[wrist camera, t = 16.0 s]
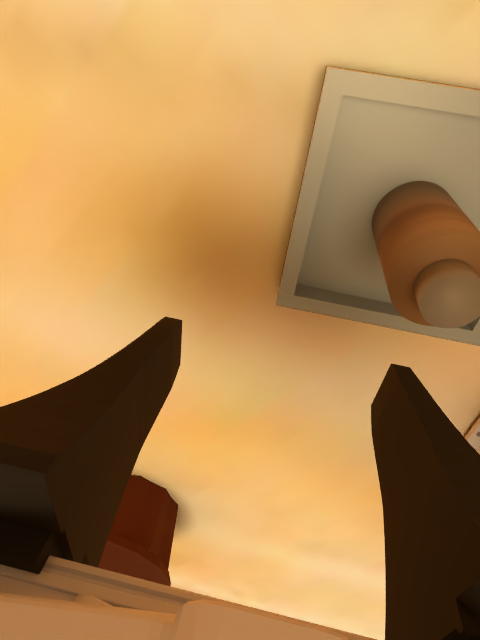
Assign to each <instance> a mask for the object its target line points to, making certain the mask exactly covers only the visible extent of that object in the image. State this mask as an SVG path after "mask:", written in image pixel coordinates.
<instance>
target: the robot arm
mask: <svg viewBox="0 0 480 640" xmlns="http://www.w3.org/2000/svg"><path fill="white" fill-rule="evenodd" d="M181 336H182V320H178V319H174V318H169V317H164V318H163V319H161V320H160V321H159V322H157V323H156V324H155V325H154V326H152V327H151V328H150V329H149V330H147V331H146V332H145V333H143V334H142V335H141V336H140V337H138V338H137V339H136V340H134V341H133V342H131V343H130V344H129V345H127V346H126V347H125V348H123V349H122V350H120V351H119V352H117V353H116V354H114V355H113V356H111V357H110V358H108V359H107V360H105V361H104V362H102V363H100V364H99V365H97V366H95V367H94V368H92V369H90V370H88V371H87V372H85V373H83V374H81V375H79V376H77V377H75V378H73V379H71V380H69V381H67V382H64V383H62V384H60V385H58V386H55V387H53V388H51V389H49V390H47V391H44V392H42V393H39V394H36V395H34V396H31V397H29V398H26V399H23V400H20V401H17V402H14V403H11V404H8V405H5V406H2V407H0V640H376V639H372V638H368V637H364V636H361V635H357V634H353V633H349V632H345V631H341V630H337V629H333V628H330V627H326V626H322V625H318V624H314V623H310V622H306V621H302V620H298V619H295V618H291V617H287V616H283V615H279V614H275V613H271V612H267V611H264V610H260V609H256V608H252V607H248V606H244V605H240V604H236V603H232V602H229V601H225V600H221V599H217V598H213V597H209V596H205V595H201V594H197V593H194V592H190V591H186V590H182V589H178V588H174V587H170V586H166V585H163V584H159V583H155V582H151V581H147V580H143V579H139V578H135V577H131V576H128V575H124V574H120V573H116V572H112V571H108V570H104V569H100V568H98V566H99V563H100V560H101V557H102V554H103V551H104V548H105V545H106V542H107V539H108V536H109V533H110V530H111V528H112V525H113V522H114V519H115V516H116V513H117V511H118V508H119V505H120V502H121V500H122V497H123V494H124V491H125V489H126V486H127V483H128V481H129V478H130V475H131V473H132V470H133V468H134V465H135V463H136V460H137V458H138V455H139V452H140V450H141V448H142V446H143V444H144V441H145V439H146V437H147V435H148V434H149V432H150V430H151V428H152V426H153V424H154V422H155V420H156V418H157V416H158V414H159V412H160V410H161V408H162V406H163V404H164V402H165V400H166V398H167V396H168V394H169V392H170V390H171V388H172V386H173V383H174V380H175V378H176V375H177V372H178V369H179V366H180V359H181ZM371 425H372V438H373V445H374V451H375V458H376V464H377V470H378V476H379V482H380V489H381V495H382V503H383V515H384V535H385V565H386V622H385V640H480V455H479V453H478V452H477V451H476V450H475V449H479V451H480V417H479V419H478V420H477V421H476V423H475V424H474V426H473V427H472V428H471V430H470V431H469V432H468V434H467V435H466V436H465V438H464V437H463V436H462V434H461V433H460V432H459V431H458V430H457V429H456V427H455V426H454V425H453V424H452V422H451V421H450V420H449V419H448V418H447V416H446V415H445V414H444V412H443V411H442V410H441V409H440V407H439V406H438V405H437V403H436V402H435V401H434V399H433V398H432V397H431V395H430V394H429V393H428V391H427V390H426V389H425V387H424V386H423V384H422V383H421V382H420V380H419V379H418V378H417V376H416V375H415V374H414V372H413V371H412V370H411V368H410V367H405V366H400V365H395V364H391V365H390V367H389V369H388V371H387V374H386V376H385V378H384V380H383V382H382V384H381V386H380V388H379V390H378V392H377V394H376V396H375V399H374V401H373V403H372V405H371Z"/></svg>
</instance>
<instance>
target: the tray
mask: <svg viewBox="0 0 480 640" xmlns="http://www.w3.org/2000/svg"><path fill="white" fill-rule="evenodd" d="M414 181H426V182H431V183H435V184H437V185H439V186H441V187H442V188H443V189H445V190H446V191H447V192H448V194H449V195H450V196H451V197H452V199H453V200H454V201H455V202H456V203H457V205H458V206H459V207H460V208H461V209H462V211H463V212H464V213H465V214H466V216H467V217H468V218H469V219H470V220H471V222H472V223H473V224H474V225H475V226H476V228H477V229H478V230H479V231H480V89H473V88H467V87H461V86H454V85H448V84H441V83H435V82H429V81H422V80H416V79H409V78H403V77H397V76H390V75H384V74H377V73H371V72H365V71H358V70H352V69H345V68H339V67H333V66H327V68H326V72H325V77H324V82H323V86H322V91H321V96H320V100H319V105H318V110H317V114H316V119H315V124H314V128H313V133H312V138H311V142H310V147H309V151H308V156H307V161H306V165H305V170H304V175H303V179H302V184H301V189H300V193H299V198H298V203H297V207H296V212H295V217H294V221H293V226H292V231H291V235H290V240H289V244H288V249H287V254H286V258H285V263H284V268H283V272H282V277H281V282H280V286H279V292H278V297H277V303H276V305H279V306H284V307H288V308H293V309H298V310H303V311H308V312H313V313H318V314H323V315H328V316H333V317H338V318H343V319H348V320H353V321H358V322H363V323H368V324H373V325H378V326H383V327H388V328H393V329H398V330H403V331H408V332H413V333H418V334H423V335H428V336H433V337H437V338H442V339H447V340H452V341H457V342H462V343H467V344H472V345H477V346H480V316H479V317H478V318H477V319H476V320H474V321H473V322H471V323H469V324H467V325H464V326H461V327H457V328H439V327H436V326H425V325H420V324H417V323H414V322H411V321H409V320H407V319H406V318H404V317H403V316H402V315H400V314H399V313H398V312H397V310H396V309H395V308H394V306H393V304H392V302H391V299H390V295H389V292H388V288H387V284H386V280H385V277H384V273H383V269H382V265H381V262H380V258H379V254H378V250H377V246H376V243H375V239H374V235H373V231H372V218H373V214H374V211H375V209H376V207H377V205H378V204H379V202H380V201H381V200H382V198H383V197H384V196H385V195H386V194H387V193H389V192H390V191H391V190H393V189H394V188H396V187H398V186H400V185H403V184H405V183H409V182H414Z"/></svg>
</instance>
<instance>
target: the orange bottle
mask: <svg viewBox="0 0 480 640" xmlns="http://www.w3.org/2000/svg"><path fill="white" fill-rule="evenodd" d="M372 231H373V235H374V239H375V243H376V246H377V250H378V254H379V258H380V262H381V265H382V269H383V273H384V277H385V280H386V284H387V288H388V292H389V295H390V299H391V302H392V304H393V306H394V308H395V309H396V310H397V312H398V313H399V314H400V315H402V316H403V317H404V318H406V319H407V320H409V321H411V322H414V323H417V324H420V325H425V326H436V327H439V328H457V327H461V326H464V325H467V324H469V323H471V322H473V321H474V320H476V319H477V318H478V317H479V316H480V231H479V230H478V229H477V228H476V226H475V225H474V224H473V223H472V222H471V220H470V219H469V218H468V217H467V216H466V214H465V213H464V212H463V211H462V209H461V208H460V207H459V206H458V205H457V203H456V202H455V201H454V200H453V199H452V197H451V196H450V195H449V194H448V192H447V191H446V190H445V189H443V188H442V187H441V186H439V185H437V184H435V183H431V182H426V181H414V182H409V183H405V184H403V185H400V186H398V187H396V188H394V189H393V190H391V191H390V192H389V193H387V194H386V195H385V196H384V197H383V198H382V200H381V201H380V202H379V204H378V205H377V207H376V209H375V211H374V214H373V218H372Z"/></svg>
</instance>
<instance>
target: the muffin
mask: <svg viewBox="0 0 480 640" xmlns="http://www.w3.org/2000/svg"><path fill="white" fill-rule="evenodd" d="M177 510H178V504H177V503H176V502H175V501H174V500H173V499H172V498H171V496H170V495H169V493H168V492H167V490H166V489H165V488H163V487H161V486H158V485H156V484H154V483H152V482H150V481H149V480H147V479H145V478H143V477H142V476H135V475H130V478H129V481H128V483H127V486H126V489H125V491H124V494H123V497H122V500H121V502H120V505H119V508H118V511H117V513H116V516H115V519H114V522H113V525H112V528H111V530H110V533H109V536H108V539H107V542H106V545H105V548H104V551H103V554H102V557H101V560H100V563H99V566H98V568H100V569H104V570H108V571H112V572H116V573H120V574H124V575H128V576H131V577H135V578H139V579H143V580H147V581H151V582H155V583H159V584H163V585H166V586H170V584H171V582H170V576H169V571H168V566H169V560H170V554H171V547H172V541H173V535H174V529H175V522H176V516H177Z"/></svg>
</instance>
